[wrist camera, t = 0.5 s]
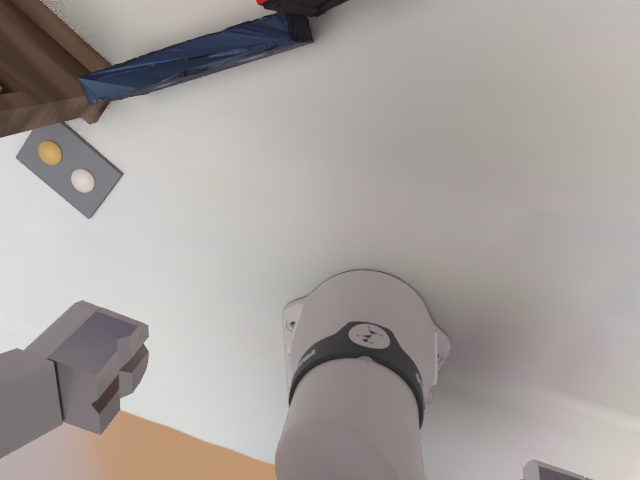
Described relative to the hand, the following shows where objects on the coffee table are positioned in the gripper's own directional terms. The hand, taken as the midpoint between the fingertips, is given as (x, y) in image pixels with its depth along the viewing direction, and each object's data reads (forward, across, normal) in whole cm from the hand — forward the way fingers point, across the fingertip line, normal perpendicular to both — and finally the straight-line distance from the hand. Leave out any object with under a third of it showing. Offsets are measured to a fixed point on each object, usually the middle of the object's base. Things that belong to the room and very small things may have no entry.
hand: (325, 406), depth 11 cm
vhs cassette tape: (+41, -20, -7) cm, 46 cm away
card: (+36, -35, -21) cm, 55 cm away
